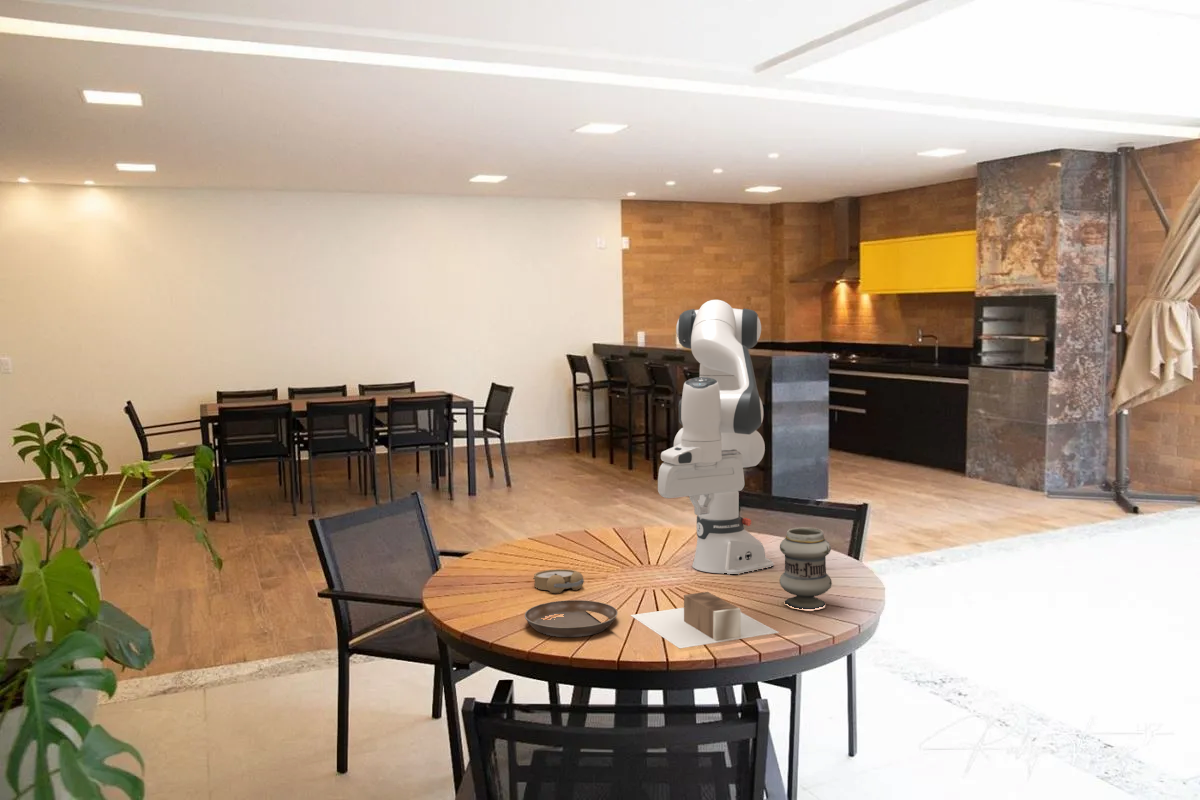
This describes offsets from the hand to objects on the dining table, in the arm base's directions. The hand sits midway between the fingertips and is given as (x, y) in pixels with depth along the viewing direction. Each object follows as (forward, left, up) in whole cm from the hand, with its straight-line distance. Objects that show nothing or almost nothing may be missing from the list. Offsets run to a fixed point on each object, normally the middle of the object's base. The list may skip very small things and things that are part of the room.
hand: (702, 514), depth 204 cm
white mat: (+1, +2, -25) cm, 25 cm away
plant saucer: (+27, -11, -25) cm, 39 cm away
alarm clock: (+19, -41, -25) cm, 52 cm away
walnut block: (+1, -1, -21) cm, 21 cm away
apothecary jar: (-29, -2, -25) cm, 39 cm away
